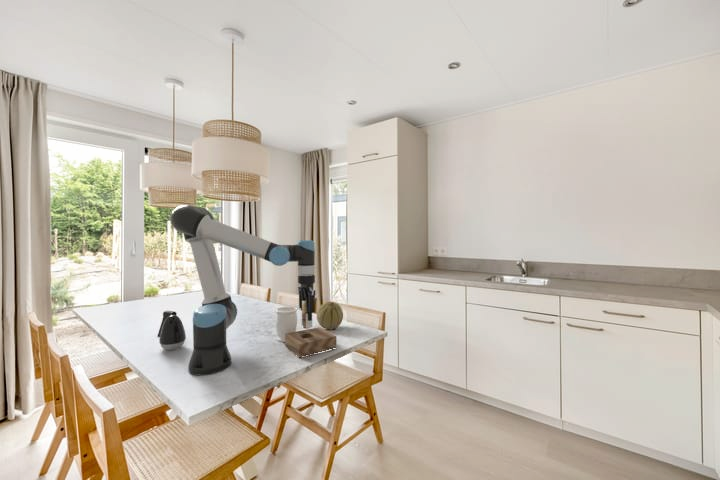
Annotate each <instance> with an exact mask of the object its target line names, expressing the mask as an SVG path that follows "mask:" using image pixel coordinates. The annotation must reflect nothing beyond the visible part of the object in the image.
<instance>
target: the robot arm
mask: <svg viewBox="0 0 720 480" xmlns="http://www.w3.org/2000/svg"><path fill="white" fill-rule="evenodd" d="M170 223H171V226H172V227H173V228H174V229H175V231H177V232H179V233H180V234H183V237H184V240H185V242H187V243H189V244H190V247H191V251H192V255H193V259H194V263H195V268H196V271H197V273H198V274H197V275H198V279H199V282H200V286H201V290H202V294H203V297H204V298H203V300H202V301H201V306H199V307H197V308H196V309H195V310H194V311H193V314H192V315H193V316H192V328H193V329H192V336H193V337H192V339H193V341H192V342H193V344H192V345H193V347H192V348H193V350H192V353H191V356H190V358H189V362H188V366H187V367H188V368H187V369H188V373H190V375H196V376H206V375H213V374H217V373H220V372H222V371H223V372H224V370H227V369H229V368H230V366H232V356H231V353H230V350H229V347H228V345H227V329H228V328H229V327H230V326H231V325H233V323H234V322H235V321H236V319H237V315H238V308H237V305H236V304H235V302H234V301H233V300H232V296H231V294H229V293H227V291H226V288H225V284H224V280H223V276H222V273H221V269H220V268H221V267H220V264H219V261H218V257H217V252H216V249H215V245H214V242H216V243H218V244H221V245H223V246H227V247H230V248H232V249H234V250H235V249H236V250H237V251H241V252H243V253H246V254H249V255H251V256H254V257H256V258H260V259H261V260H262V259H263V260H264V261H267V262H270V263H271V264H272V265H274V266H277V267H280V266H284V265H287V263H288V262H289V263H290V262H291V263H292V262H296V263H297V283H298V285H299V284H300V286H297V289H298V307H299V309H300V311H301V314H300V315H301V316H302V301H303V300H306V309H307V312H305V313H306V328H307V329H311V328H312V327H313V313H315V311H316V297H315V296H316V290H315V289H313V284H314V283H316V275H315V272H316V266H315V262H316V260H315V259H316V258H315V257H316V254H315V253H316V251H315V250H316V249H315V242H314V241H313V240H312V239H307V240H306V239H304V240H303V239H302V240H297V243H296V244H277V243H275V242H272V241H269V240H266V239H264V238H262V237H259V236H256V235H254V234H251V233H248V232H246V231H243V230H240V229H238V228H235V227H232V226H230V225H227V224H225V223H223V222H220V221H217V220H215V217H214V215H213V214H212V213H211V211H209V210H208V209H206V208H204V207H201V206H196V205H191V204H183V205H179V206H177V207H176V208H175V209H173V210H172V213H171V215H170ZM310 327H311V328H310ZM306 328H305V329H306Z"/></svg>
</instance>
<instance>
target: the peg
mask: <svg viewBox="0 0 720 480" xmlns="http://www.w3.org/2000/svg"><path fill="white" fill-rule="evenodd" d="M301 311H302V315H301V326H302V328H303V329H305V330H307V329H308V328H306V313H305V312H307V309H306V300H303V301H302V310H301ZM309 329H312V327H310V328H309Z"/></svg>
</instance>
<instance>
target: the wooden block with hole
mask: <svg viewBox="0 0 720 480" xmlns="http://www.w3.org/2000/svg"><path fill="white" fill-rule="evenodd" d="M284 345H285V346H286V347H287V348H288V349H287V348H286V347H285V348H286V349H287V350H288V351H290V352H291V351H292V352H293V353H294V354H295V355H294V354H293V353H292V352H291V353H292V354H293V355H294V356H296V355H297V356H298V357H302V356H306V355H310V354H314V353H318V352H322V351H326V350H329V349H333V348H336V349H337V335H335V334H333V333H332V332H330V331H328V330H327V329H325V328H323V327H321V326H318V327H314V328H307V329H303V330H298V331H297V330H296V332H292V333H286V334H285V342H284ZM297 356H296V357H297ZM298 357H297V358H298Z"/></svg>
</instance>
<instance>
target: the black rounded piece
mask: <svg viewBox="0 0 720 480" xmlns="http://www.w3.org/2000/svg"><path fill="white" fill-rule="evenodd" d="M171 315H176V316H178V315H177V312H176V311H172V310H164V311H163V313H162V320H161V323H160V326H159V329H158V333H157V337H159V338H160V334H161V330H162V327H163V324H164V322H165V320H166V318H167V317H169V316H171Z"/></svg>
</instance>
